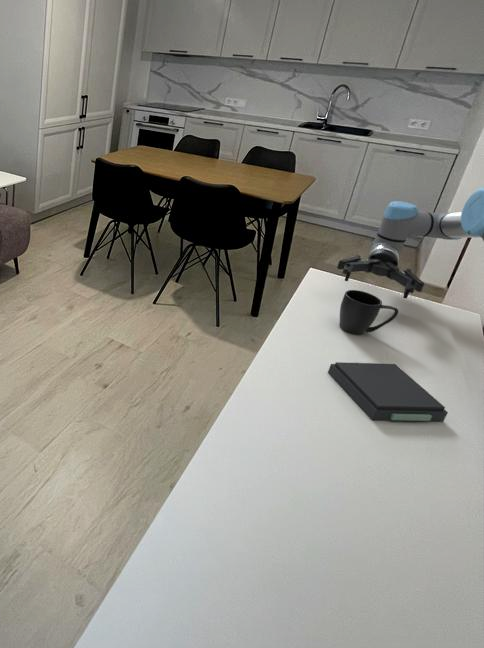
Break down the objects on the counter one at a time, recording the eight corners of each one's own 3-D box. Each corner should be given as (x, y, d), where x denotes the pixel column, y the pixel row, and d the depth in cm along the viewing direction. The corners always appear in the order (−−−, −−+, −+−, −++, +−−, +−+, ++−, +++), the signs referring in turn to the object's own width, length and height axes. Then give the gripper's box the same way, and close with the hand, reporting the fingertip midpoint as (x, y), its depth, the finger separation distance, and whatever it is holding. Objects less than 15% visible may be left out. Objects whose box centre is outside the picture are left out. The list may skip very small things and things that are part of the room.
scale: (445, 423, 99) (451, 410, 97) (373, 422, 98) (379, 409, 96) (390, 374, 113) (395, 362, 111) (327, 372, 112) (332, 360, 110)
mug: (387, 347, 123) (401, 314, 119) (332, 330, 129) (344, 298, 125) (386, 332, 129) (399, 301, 126) (334, 317, 135) (345, 286, 131)
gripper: (428, 285, 143) (427, 314, 127) (332, 259, 156) (320, 281, 140) (439, 262, 140) (439, 288, 124) (340, 237, 153) (328, 258, 137)
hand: (376, 285), depth 132 cm, fingers open, 13 cm apart
